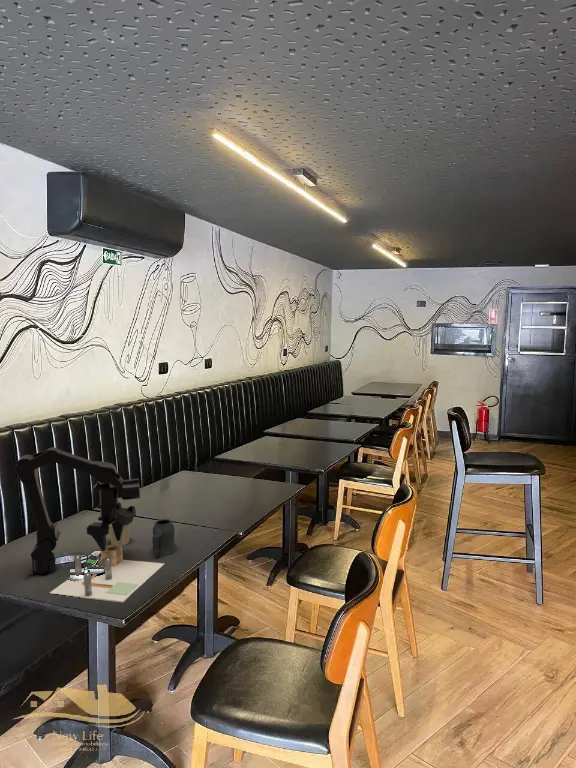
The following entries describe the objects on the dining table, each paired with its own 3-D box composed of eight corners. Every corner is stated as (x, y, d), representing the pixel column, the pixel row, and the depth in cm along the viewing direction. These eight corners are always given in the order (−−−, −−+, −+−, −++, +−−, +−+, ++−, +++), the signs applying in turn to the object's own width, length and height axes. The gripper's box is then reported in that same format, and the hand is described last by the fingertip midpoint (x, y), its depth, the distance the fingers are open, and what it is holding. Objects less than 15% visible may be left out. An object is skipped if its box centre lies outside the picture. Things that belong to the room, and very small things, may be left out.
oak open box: (101, 565, 186) (100, 550, 186) (109, 559, 191) (109, 545, 191) (114, 566, 185) (114, 552, 185) (122, 560, 190) (122, 546, 189)
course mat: (49, 594, 167) (49, 592, 167) (99, 558, 193) (99, 556, 193) (123, 602, 161) (123, 600, 161) (164, 564, 187) (164, 563, 187)
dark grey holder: (158, 546, 203) (156, 516, 202) (181, 547, 201) (180, 517, 200) (143, 559, 191) (141, 528, 190) (167, 561, 189) (166, 529, 188)
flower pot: (102, 544, 206) (101, 521, 205) (125, 537, 212) (124, 515, 211) (114, 551, 199) (113, 528, 198) (137, 543, 206) (136, 521, 205)
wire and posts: (85, 596, 164) (84, 575, 163) (74, 574, 179) (73, 555, 178) (118, 588, 169) (117, 568, 168) (105, 567, 184) (104, 549, 183)
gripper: (115, 511, 175) (117, 558, 176) (144, 494, 193) (146, 537, 194) (84, 509, 178) (86, 556, 179) (115, 492, 196) (117, 535, 197)
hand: (111, 545), depth 187 cm, fingers open, 9 cm apart
